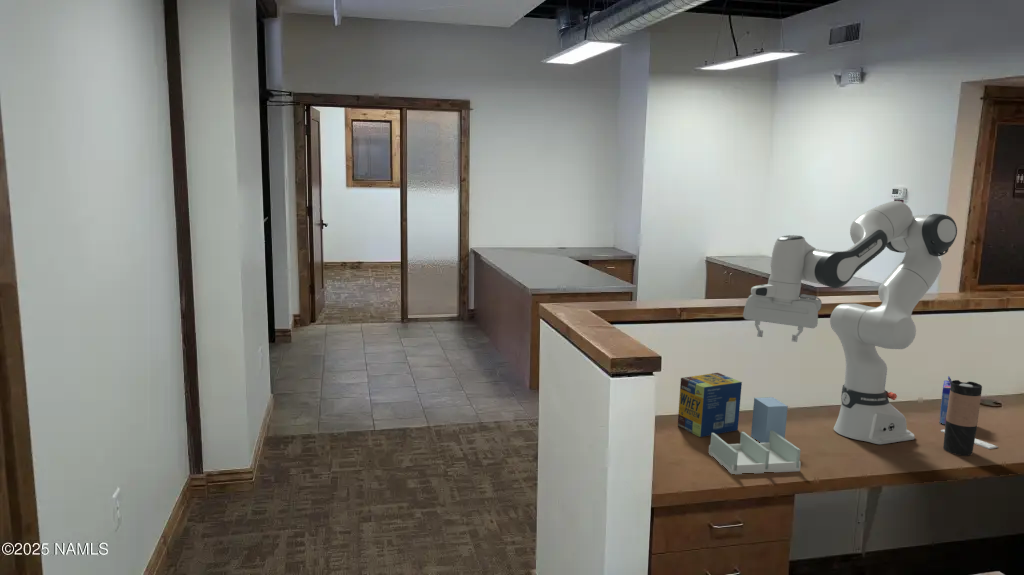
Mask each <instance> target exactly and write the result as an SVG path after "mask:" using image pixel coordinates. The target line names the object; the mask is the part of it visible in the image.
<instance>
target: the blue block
mask: <svg viewBox="0 0 1024 575" xmlns="http://www.w3.org/2000/svg"><path fill="white" fill-rule="evenodd" d="M788 406H789V405H786V404H785V403H783V402H782V401H780V400H778V399H777V398H775V397H773V396H772V397H771V396H769V397H753V407H752V420H751V430H750V432H751V433H750V437H751V438H752V437H753V439H754V440H755V439H756V440H758V441H759V442H760V443H767V442H769V437H770V431H772V430H773V431H774V432H776V433H777V434H779V435H780V436H781V437H783V438H784V439H786V429H787V428H786V427H787V418H788V408H789V407H788ZM758 441H757V442H758ZM759 442H758V443H759Z"/></svg>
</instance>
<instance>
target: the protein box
mask: <svg viewBox="0 0 1024 575" xmlns="http://www.w3.org/2000/svg"><path fill="white" fill-rule="evenodd" d="M742 383H743V381H740V380H737V379H735V378H733V377H730V376H727V375H725V374H722V373H720V372H712V373H706V374H701V375H700V374H699V375H694V376H693V375H691V376H686V377H680V386H679V399H678V412H677V413H678V415H677V416H678V417H677V427H678V428H679V427H680V428H682V429H683V430H686V431H687V432H689V433H691V434H693V435H695V436H697V437H699V438H704V437H709V436H711V433H715V434H716V435H720V434H725V433H729V432H734V431H738V430H739V422H740V421H739V418H740V409H741V408H740V407H741V396H742V386H743V385H742Z"/></svg>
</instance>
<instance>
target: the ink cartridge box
mask: <svg viewBox="0 0 1024 575" xmlns="http://www.w3.org/2000/svg"><path fill="white" fill-rule="evenodd" d="M947 379H948V380H943V385H942V389H941V390H942V391H941V403H940V409H939V410H940V412H939V422H940V423H942V424H941V425H945V424H946V415H947V408H948V401H949V394H950V387H951V382H952V381H953V380H952V379H951V376H949V375H948V376H947ZM940 423H939V424H940Z"/></svg>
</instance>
